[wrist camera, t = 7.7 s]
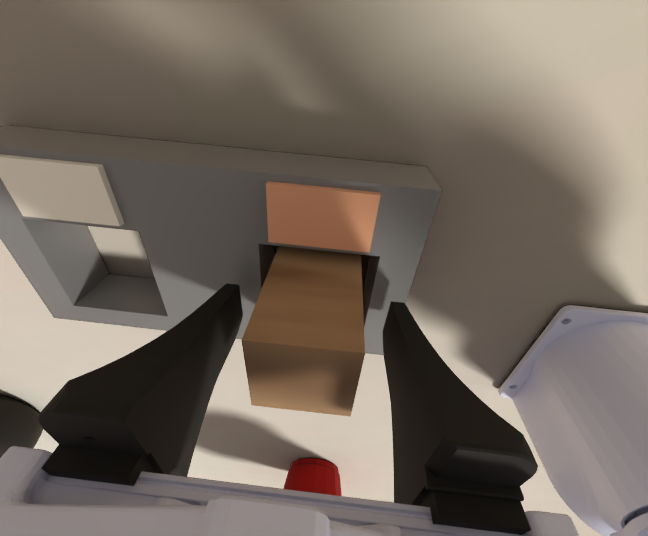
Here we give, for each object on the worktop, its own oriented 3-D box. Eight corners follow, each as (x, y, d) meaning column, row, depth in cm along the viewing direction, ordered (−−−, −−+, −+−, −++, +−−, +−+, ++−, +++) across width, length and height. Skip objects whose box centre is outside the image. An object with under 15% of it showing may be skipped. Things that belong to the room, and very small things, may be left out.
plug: (351, 288, 18) (350, 416, 12) (287, 282, 18) (251, 405, 12) (359, 232, 16) (364, 352, 9) (287, 225, 16) (241, 340, 9)
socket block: (384, 318, 19) (389, 360, 17) (90, 285, 20) (49, 321, 17) (426, 166, 13) (444, 193, 11) (6, 125, 14) (-76, 141, 11)
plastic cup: (354, 490, 38) (354, 638, 28) (272, 479, 38) (244, 623, 28) (370, 454, 32) (377, 631, 22) (271, 441, 32) (235, 611, 22)
